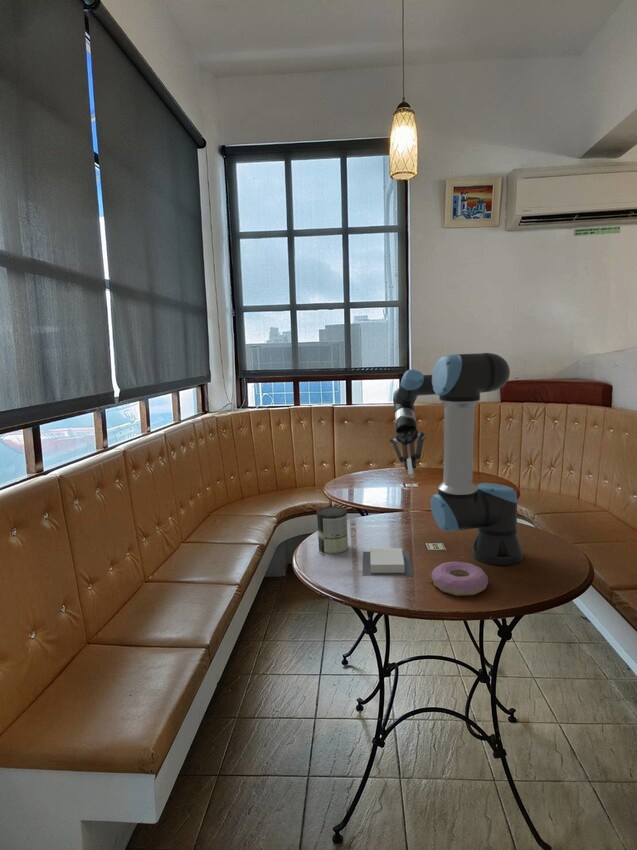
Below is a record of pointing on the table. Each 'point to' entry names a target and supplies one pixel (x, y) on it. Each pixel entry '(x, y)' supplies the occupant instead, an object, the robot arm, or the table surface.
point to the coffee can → (332, 530)
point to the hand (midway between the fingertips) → (411, 475)
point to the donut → (459, 578)
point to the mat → (368, 573)
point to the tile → (387, 560)
